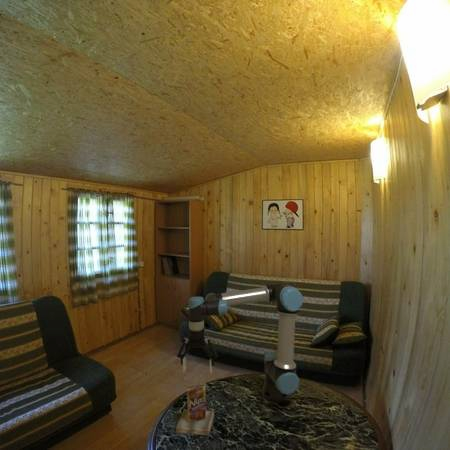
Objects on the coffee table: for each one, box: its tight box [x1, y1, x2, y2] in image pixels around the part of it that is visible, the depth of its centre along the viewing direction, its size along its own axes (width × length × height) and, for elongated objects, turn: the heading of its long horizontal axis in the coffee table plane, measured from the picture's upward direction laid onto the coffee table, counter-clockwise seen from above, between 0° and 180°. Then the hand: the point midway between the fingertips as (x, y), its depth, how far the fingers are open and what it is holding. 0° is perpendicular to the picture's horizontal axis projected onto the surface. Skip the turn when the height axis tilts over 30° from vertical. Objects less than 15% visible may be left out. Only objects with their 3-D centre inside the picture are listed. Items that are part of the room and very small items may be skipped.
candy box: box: [186, 384, 207, 422], centre depth 134 cm, size 9×4×15 cm, turn 103°
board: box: [175, 408, 215, 436], centre depth 134 cm, size 16×14×2 cm
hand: (197, 371), depth 136 cm, fingers open, 13 cm apart
